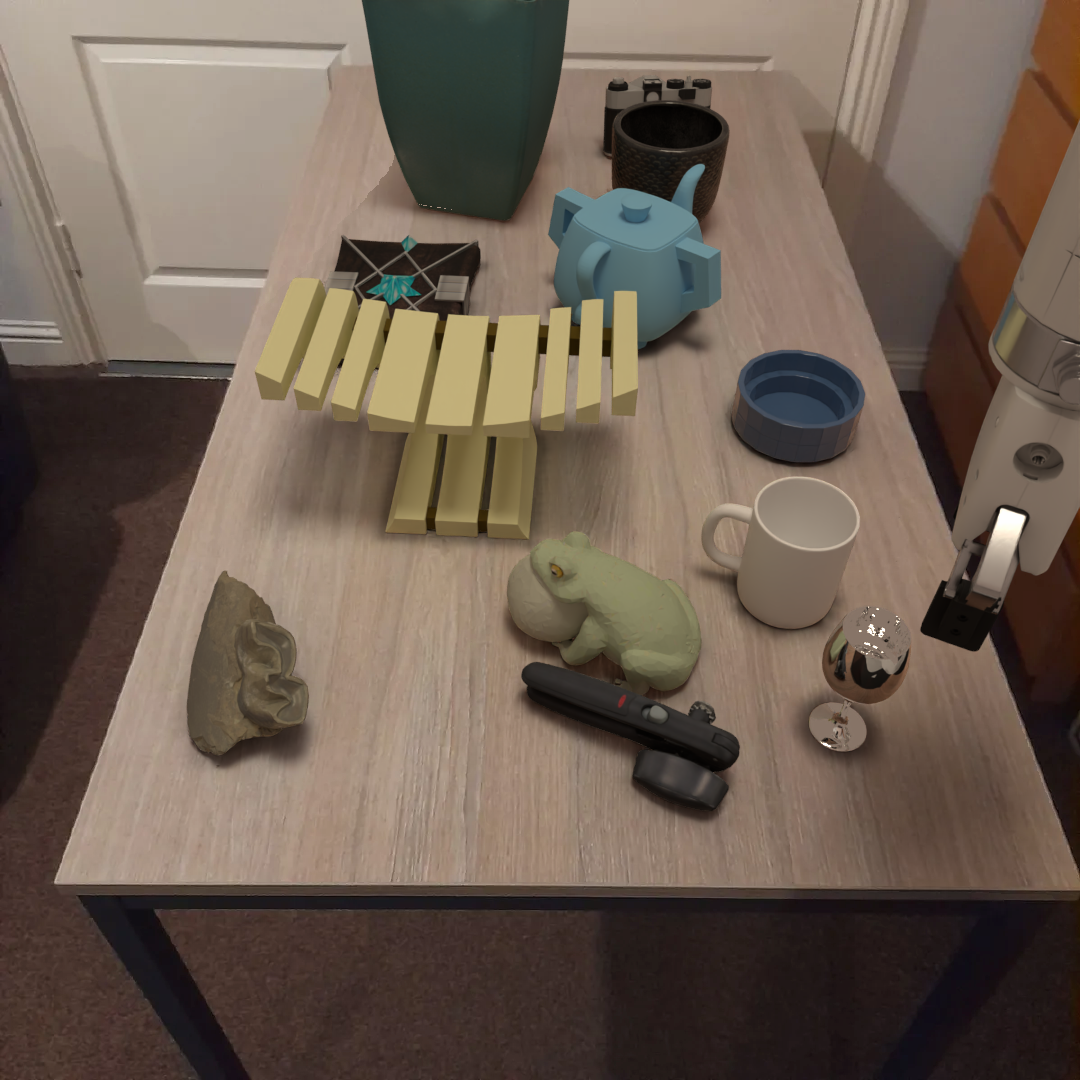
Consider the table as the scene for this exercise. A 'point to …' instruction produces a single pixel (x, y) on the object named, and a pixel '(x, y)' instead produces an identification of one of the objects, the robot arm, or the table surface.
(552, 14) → the flower pot
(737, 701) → the table surface
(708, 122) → the planter
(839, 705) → the wineglass
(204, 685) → the fossil
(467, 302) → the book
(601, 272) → the teapot
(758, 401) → the bowl
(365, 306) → the slatted curved stool
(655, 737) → the can opener
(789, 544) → the cup
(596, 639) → the figurine
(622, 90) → the camera
